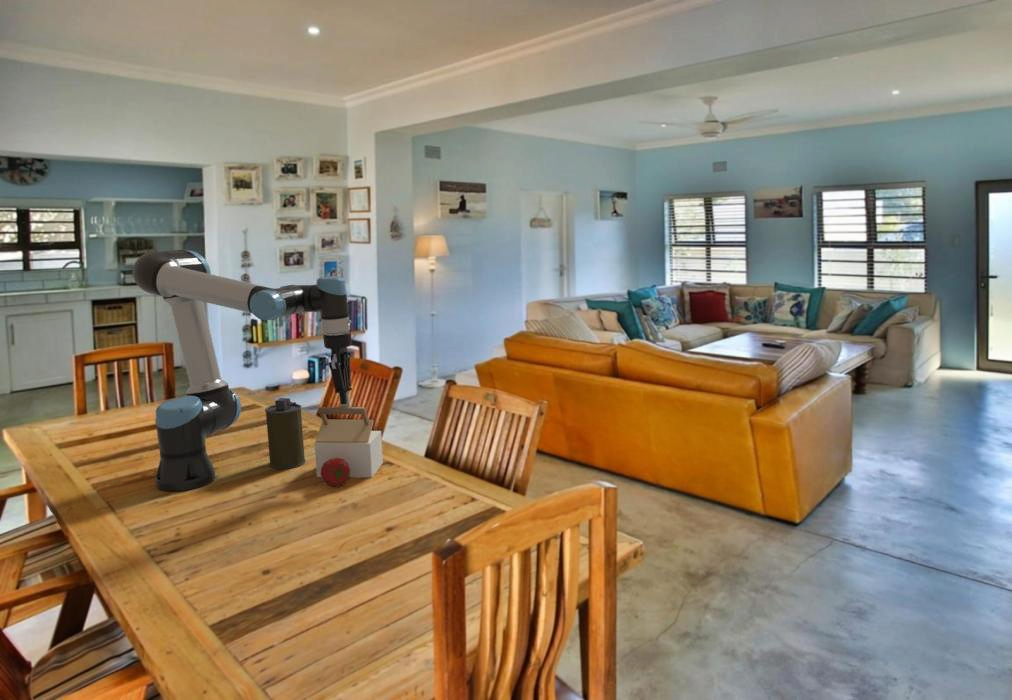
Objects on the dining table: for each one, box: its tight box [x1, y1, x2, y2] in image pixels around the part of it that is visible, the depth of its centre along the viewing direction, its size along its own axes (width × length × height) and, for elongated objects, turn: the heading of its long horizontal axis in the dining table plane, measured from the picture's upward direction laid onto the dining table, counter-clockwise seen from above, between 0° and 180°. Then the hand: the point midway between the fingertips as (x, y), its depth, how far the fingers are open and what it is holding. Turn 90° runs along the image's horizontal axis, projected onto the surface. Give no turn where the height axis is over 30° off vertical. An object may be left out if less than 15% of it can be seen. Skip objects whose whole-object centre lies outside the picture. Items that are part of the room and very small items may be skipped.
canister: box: [264, 397, 306, 470], centre depth 200 cm, size 11×10×20 cm
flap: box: [315, 406, 375, 443], centre depth 188 cm, size 15×8×7 cm
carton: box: [314, 430, 384, 478], centre depth 195 cm, size 16×12×10 cm
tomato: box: [321, 458, 350, 488], centre depth 183 cm, size 8×8×8 cm
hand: (346, 413), depth 190 cm, fingers closed
